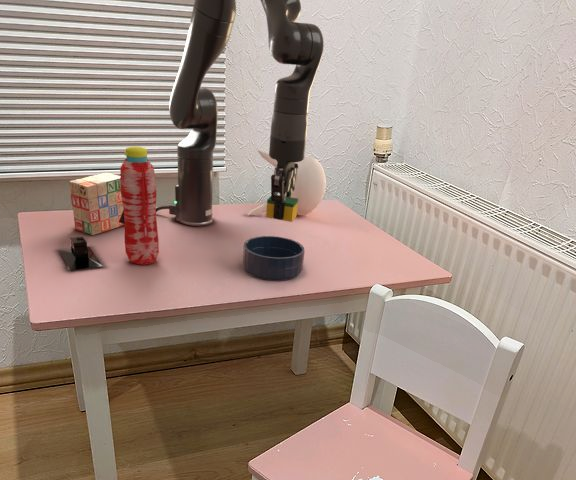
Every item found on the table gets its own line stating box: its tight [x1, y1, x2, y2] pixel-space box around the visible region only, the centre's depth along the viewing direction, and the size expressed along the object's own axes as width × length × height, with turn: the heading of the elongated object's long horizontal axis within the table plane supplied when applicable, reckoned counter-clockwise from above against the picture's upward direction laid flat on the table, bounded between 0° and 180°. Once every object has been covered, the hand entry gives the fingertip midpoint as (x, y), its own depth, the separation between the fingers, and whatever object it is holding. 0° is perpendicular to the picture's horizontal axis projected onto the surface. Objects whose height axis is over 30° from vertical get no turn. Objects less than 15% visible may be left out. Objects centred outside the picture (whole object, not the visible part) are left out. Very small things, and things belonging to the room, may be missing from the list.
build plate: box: [58, 236, 104, 272], centre depth 131 cm, size 12×7×5 cm, turn 29°
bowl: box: [242, 235, 306, 282], centre depth 135 cm, size 14×14×6 cm
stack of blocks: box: [69, 172, 125, 236], centre depth 150 cm, size 21×6×12 cm, turn 148°
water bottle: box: [119, 146, 160, 266], centre depth 128 cm, size 12×8×25 cm, turn 28°
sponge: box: [265, 194, 298, 223], centre depth 129 cm, size 6×4×4 cm
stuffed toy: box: [246, 150, 332, 216], centre depth 168 cm, size 19×14×25 cm
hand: (281, 215), depth 130 cm, fingers closed on sponge, 4 cm apart
